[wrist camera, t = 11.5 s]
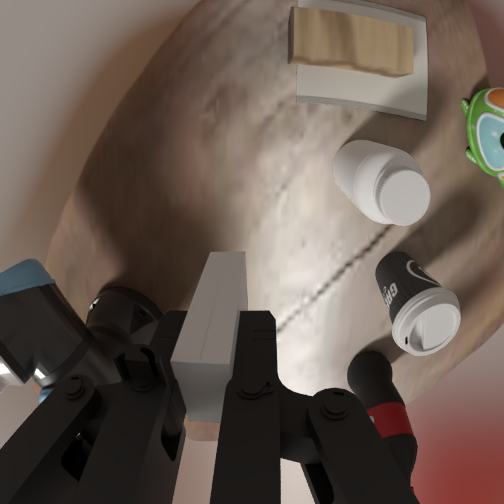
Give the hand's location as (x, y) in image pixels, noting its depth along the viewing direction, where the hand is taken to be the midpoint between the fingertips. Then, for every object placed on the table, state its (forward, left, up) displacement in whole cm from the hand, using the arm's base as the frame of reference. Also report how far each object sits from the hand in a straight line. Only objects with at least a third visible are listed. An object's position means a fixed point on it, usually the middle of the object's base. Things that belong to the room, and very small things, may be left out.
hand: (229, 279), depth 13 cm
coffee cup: (+22, -14, -28) cm, 38 cm away
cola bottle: (+22, -34, -28) cm, 49 cm away
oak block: (+3, +17, -24) cm, 30 cm away
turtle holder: (+36, +9, -28) cm, 46 cm away
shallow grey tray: (+14, +17, -28) cm, 35 cm away
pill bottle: (+14, +1, -28) cm, 31 cm away
